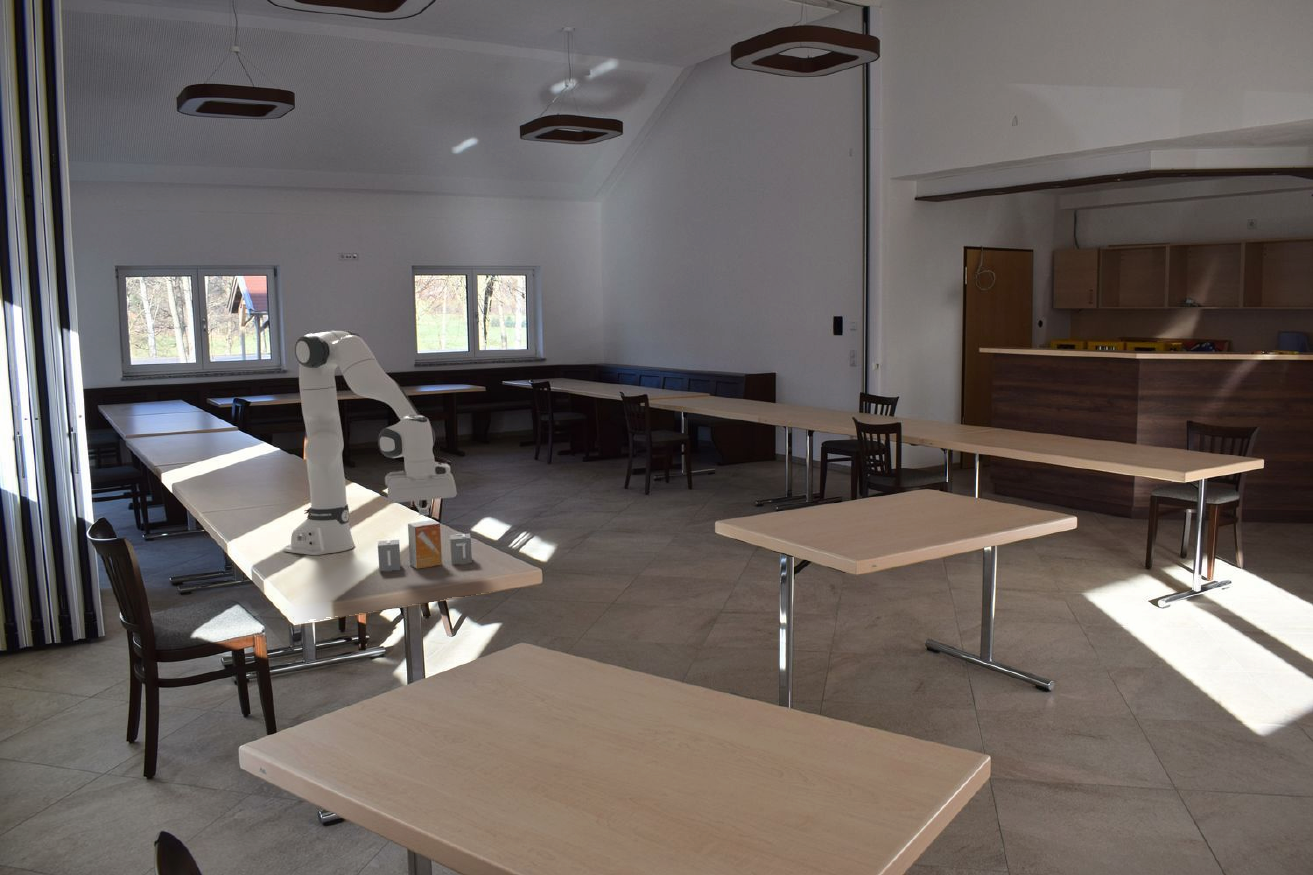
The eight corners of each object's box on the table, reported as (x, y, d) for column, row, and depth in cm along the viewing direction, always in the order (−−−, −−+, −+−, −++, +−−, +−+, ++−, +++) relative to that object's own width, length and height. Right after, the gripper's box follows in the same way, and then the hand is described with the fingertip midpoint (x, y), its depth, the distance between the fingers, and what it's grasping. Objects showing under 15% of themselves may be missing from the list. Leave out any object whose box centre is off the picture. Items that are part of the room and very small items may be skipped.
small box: (417, 569, 290) (414, 526, 288) (409, 565, 295) (407, 523, 293) (442, 564, 294) (440, 522, 292) (435, 560, 299) (432, 519, 298)
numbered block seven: (451, 565, 293) (450, 538, 292) (451, 560, 299) (449, 534, 298) (472, 563, 295) (470, 537, 294) (471, 558, 301) (469, 532, 300)
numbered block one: (379, 572, 288) (377, 544, 287) (380, 566, 294) (378, 540, 293) (400, 570, 289) (398, 543, 288) (400, 565, 295) (399, 538, 294)
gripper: (383, 474, 285) (388, 520, 287) (454, 467, 290) (458, 513, 292) (384, 470, 291) (388, 515, 293) (454, 464, 296) (457, 509, 298)
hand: (424, 514), depth 292 cm, fingers closed
